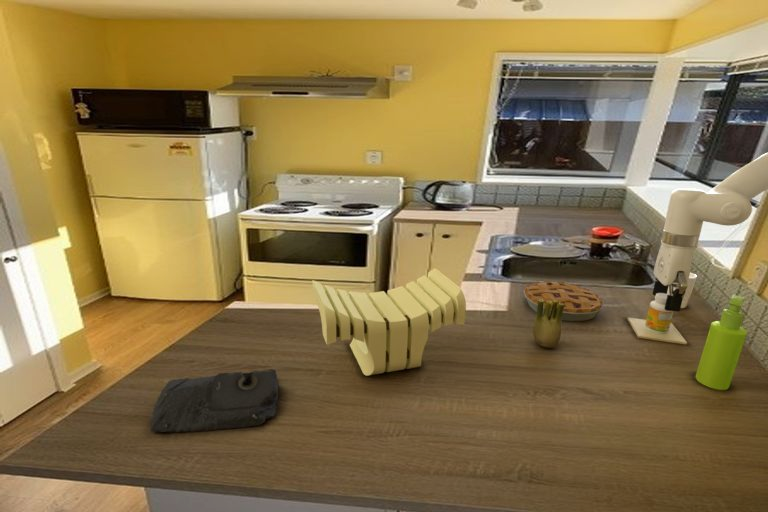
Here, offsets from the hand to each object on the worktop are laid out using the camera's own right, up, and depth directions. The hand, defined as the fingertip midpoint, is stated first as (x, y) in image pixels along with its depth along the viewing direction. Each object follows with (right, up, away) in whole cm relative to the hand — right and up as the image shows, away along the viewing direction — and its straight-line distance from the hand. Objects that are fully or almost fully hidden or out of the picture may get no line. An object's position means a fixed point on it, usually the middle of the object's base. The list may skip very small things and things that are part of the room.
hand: (665, 302), depth 110 cm
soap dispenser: (-3, -15, -19) cm, 24 cm away
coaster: (-1, -8, +3) cm, 8 cm away
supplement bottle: (-1, -8, +3) cm, 8 cm away
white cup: (+16, -3, +20) cm, 26 cm away
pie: (-21, -3, +16) cm, 26 cm away
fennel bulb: (-33, -10, -5) cm, 35 cm away
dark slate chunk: (-105, -16, -29) cm, 110 cm away
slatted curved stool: (-73, -11, -13) cm, 75 cm away
